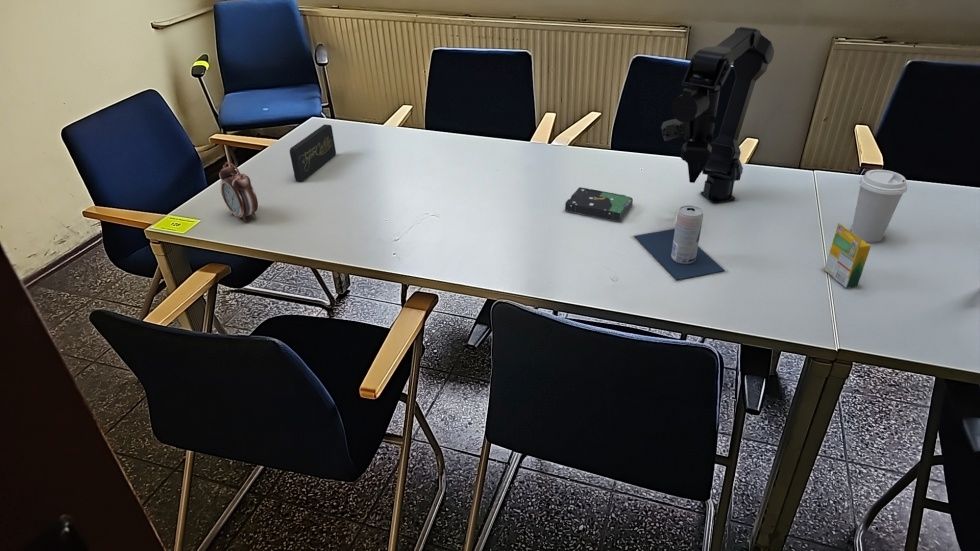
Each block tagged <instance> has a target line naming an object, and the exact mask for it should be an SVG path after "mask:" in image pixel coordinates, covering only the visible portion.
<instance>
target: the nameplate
mask: <svg viewBox="0 0 980 551" xmlns="http://www.w3.org/2000/svg"><path fill="white" fill-rule="evenodd" d="M336 150H337V149H336V145H335V138H334V132H333V126H332V125H331V124H322V125H321V126H320V127H318V128H317V129H315V130H314V131H313V132H311V133H310V134H309V135H307V136H305V137H303V139H301V140H299V141H298V142H297V143H296V144H294V145H292V146H291V147H290V148H289V156H290V160H291V166H292V170H293V175H294V180H295V181H296V182H304V181H306V180H307V179H308V178H310V177H311V176H313V174H315V173H316V172H317V171H318V170H320V169H321V168H322V167H323V166H324V165H326V164H327V163H329V162H330V161H331V160H332V159H333V158H334V157H336V155H337V151H336Z"/></svg>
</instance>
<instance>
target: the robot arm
mask: <svg viewBox="0 0 980 551" xmlns="http://www.w3.org/2000/svg"><path fill="white" fill-rule="evenodd" d="M774 54H775V48H774V46H773V43H772V41H771V40H769V39H768V38H767V37H765V36H764V35H762V33H761V30H760V29H758V28H755V27H747V26H739V27H736V28H735V30H734V32H733V33H732V34H730V35H729V36H727V37H726V38H725V39H723V41H721V42H720V43H718V44H717V45H715V46H707V47H702V48H700V49H698V50H697V51H696V52H695V53H694V54H693V56H691V59H690V61H689V63H688V66H687V69H686V71H685V74H684V76H683V78H682V81H681V85H682V86H686V87H685V88H683V89H682V93H681V95H679V96H677V97H675V99H674V100H673V102H672V104H671V114H672V115H673V117H674V118H672V119H669V120H665V121H663V122H662V123H661V126H660V129H661V136H662V137H663V140H664V141H666V142H668V141H671V140H672V139H676V138H681V137H683V139H684V140H687V141H686V142H685V143H683V144H682V147H681V150H680V159H681V160H682V161H684V162H685V163H686V164H687V171H688V182H689V183H690V184H695V182H697V180H698V178H699V176H700V175H701V173H702V175H706V180H705V181H704V186H703V191H700V195H702V196H703V197H704V198H706V199H707V200H708V201H710V202H711V203H712V204H718V203H719V204H720V203H724V202H731V201H735V200H736V197H735V196H734V195H733V190H734V186H735V182H737V181H740V180H741V177H742V174H743V171H744V167H743V165H742V161H741V160H740V157H741V154H742V153H741V152H742V151H741V148H740V144H739V141H738V140H739V137H740V134H741V130H742V127H743V124H744V121H745V117H746V114H747V110H748V108H749V104H750V100H751V97H752V95H753V92H754V88H755V85H756V82H757V81H758V80H759V79H760V78H761V77H762V76H763V75H764V74H765V73H766V72H767V69H768V67H769V65H770V64H771V63H772V61H773V58H774ZM732 67H733V71H734V75H735V80H734V83H733V85H732V90H731V94H730V96H729V99H728V103H727V107H726V110H725V113H724V116H723V120H722V123H721V126H720V130H719V134H718V136H717V137H716V138H715V139H714V136H715V130H716V124H715V123H716V118H717V113H718V106H719V99H720V93H721V87H723V86H724V84H725V82H726V80H727V78H728V76H729V74H730V72H731V70H732Z"/></svg>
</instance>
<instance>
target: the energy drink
mask: <svg viewBox="0 0 980 551" xmlns="http://www.w3.org/2000/svg"><path fill="white" fill-rule="evenodd" d="M703 219H704V211H703V210H702V208H700V207H698V206H695V205H683V206H682V205H681V206H680V207H679V208H678V211H677V213H676V220H675V226H674V229H675V233H674V240H673V247H672V254H671V257H672V259H673V260H674V261H675V262H677V263H680V264H691V263H693V262H694V261H695V260H696V255H697V250H698V247H699V243H700V237H701V231H702V225H703Z"/></svg>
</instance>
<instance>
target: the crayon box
mask: <svg viewBox="0 0 980 551" xmlns="http://www.w3.org/2000/svg"><path fill="white" fill-rule="evenodd" d="M871 248H872V247H871V245H870V243H868V242H865V241H863V240H862V239H861V238H859V237H858V236H856V235H855V234H853V233H852V232H851V230H849V229H848V228H846V226H843V224H841V223H839V222H838V223H837V227H836V230H835V233H834V236H833V239H832V242H831V246H830V248H829V252H828V256H827V259H826V263H825V266H824V268H823V271H824V272H826V273H827V274H829V275H830V276H831V277H832V278H833V279H834V280H835V281H837V283H839V284H841V285H842V286H843V287H844V288H845V289H848V288H854V287H858V286H859V283H860V280H861V277H862V275H863V270H864V268H865V265H866V262H867V259H868V256H869V252H870V250H871Z"/></svg>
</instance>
